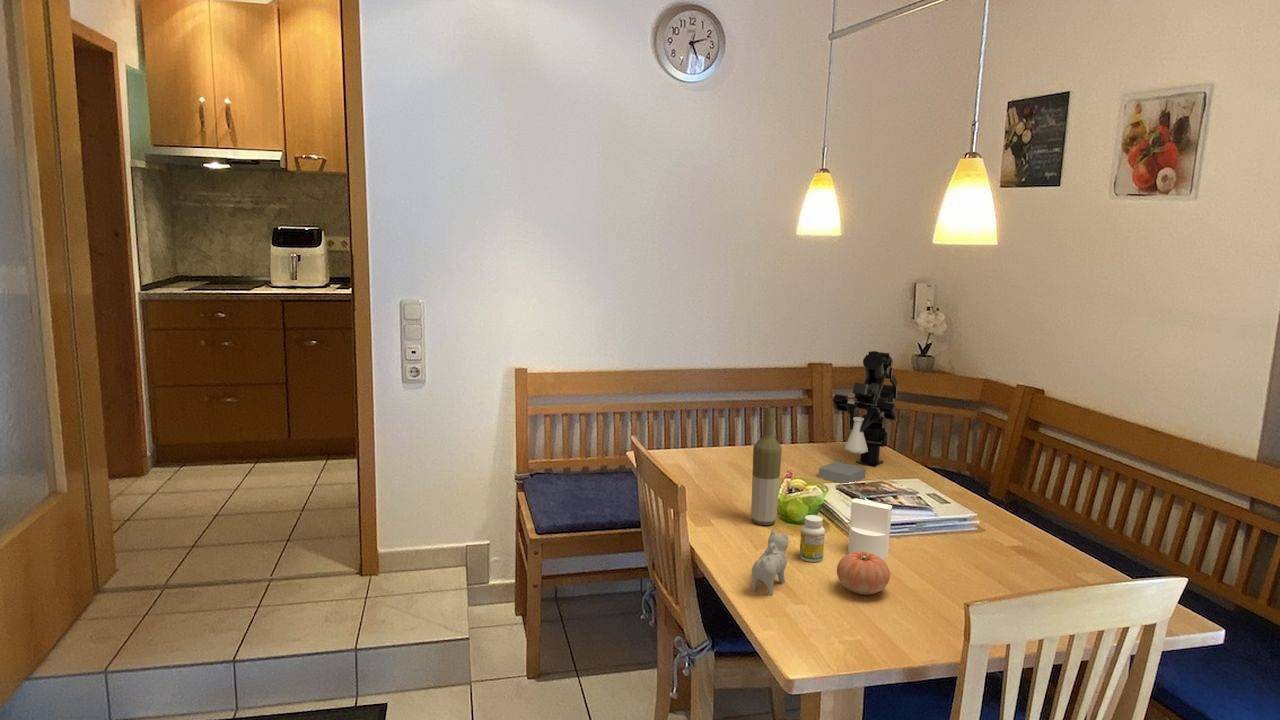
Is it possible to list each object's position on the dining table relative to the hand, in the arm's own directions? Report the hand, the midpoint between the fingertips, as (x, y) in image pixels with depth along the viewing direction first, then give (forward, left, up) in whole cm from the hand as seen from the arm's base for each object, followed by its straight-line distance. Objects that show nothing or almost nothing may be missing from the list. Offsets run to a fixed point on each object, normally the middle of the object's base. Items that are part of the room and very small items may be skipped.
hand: (855, 430), depth 251 cm
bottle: (+52, +2, -14) cm, 54 cm away
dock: (+5, -1, -14) cm, 15 cm away
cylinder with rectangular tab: (+51, +30, -14) cm, 61 cm away
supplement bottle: (+63, +22, -14) cm, 68 cm away
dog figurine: (+81, +22, -14) cm, 86 cm away
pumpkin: (+70, +38, -14) cm, 81 cm away
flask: (-1, 0, -7) cm, 7 cm away
